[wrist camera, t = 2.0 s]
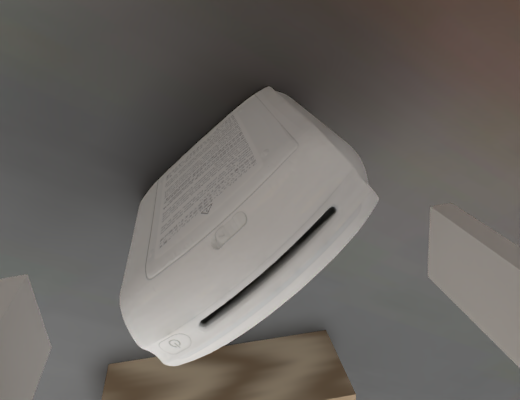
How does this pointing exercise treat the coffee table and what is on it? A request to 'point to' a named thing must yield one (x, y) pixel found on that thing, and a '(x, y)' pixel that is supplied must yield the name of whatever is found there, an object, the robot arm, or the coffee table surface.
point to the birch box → (239, 373)
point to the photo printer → (240, 227)
